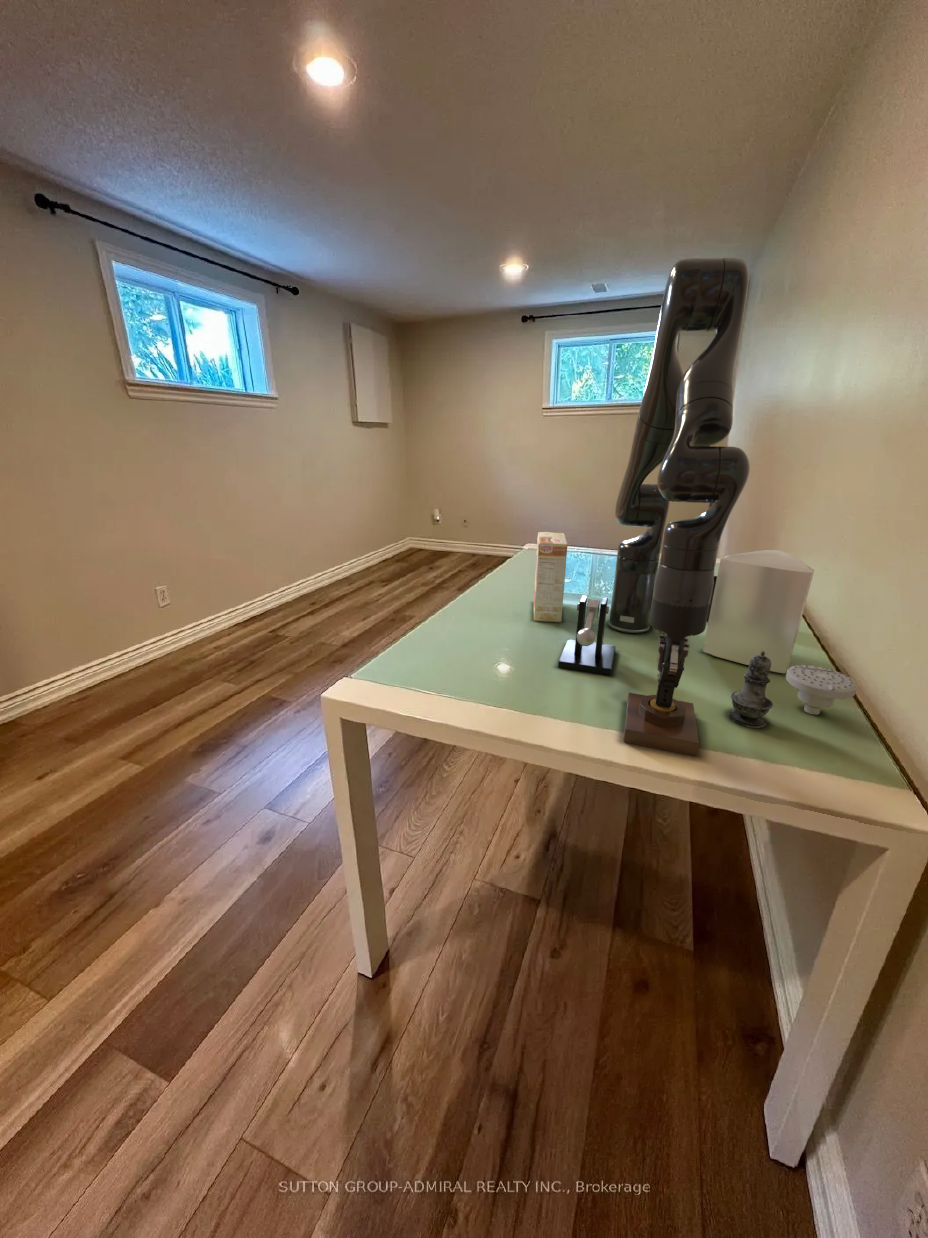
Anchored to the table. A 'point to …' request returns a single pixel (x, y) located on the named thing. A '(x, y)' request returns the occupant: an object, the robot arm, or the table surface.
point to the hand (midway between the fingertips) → (662, 704)
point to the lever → (589, 623)
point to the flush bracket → (591, 656)
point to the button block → (661, 725)
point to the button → (661, 709)
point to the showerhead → (819, 686)
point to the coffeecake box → (549, 576)
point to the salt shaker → (753, 695)
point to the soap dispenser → (758, 607)
